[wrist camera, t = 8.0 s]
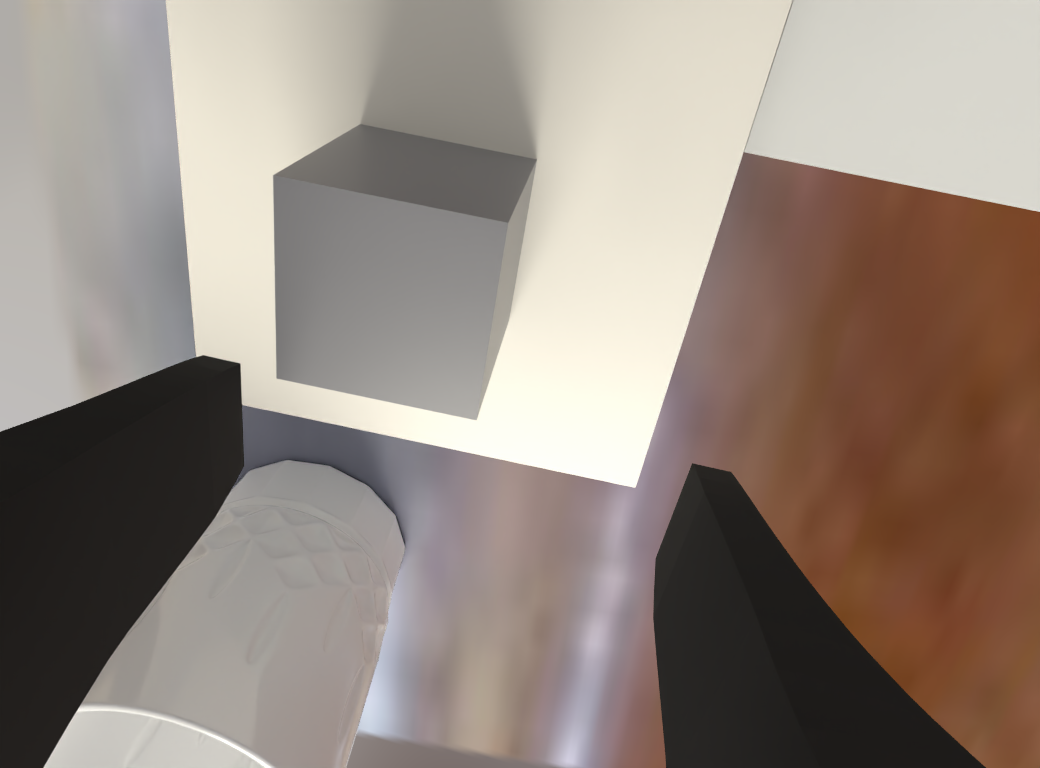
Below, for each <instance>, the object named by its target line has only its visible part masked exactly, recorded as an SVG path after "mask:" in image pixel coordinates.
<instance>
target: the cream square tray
mask: <svg viewBox="0 0 1040 768" xmlns="http://www.w3.org/2000/svg"><path fill="white" fill-rule="evenodd" d="M744 152H746V153H751V154H756V155H761V156H766V157H771V158H776V159H781V160H786V161H791V162H796V163H801V164H806V165H811V166H815V167H820V168H825V169H830V170H835V171H840V172H845V173H850V174H855V175H860V176H865V177H870V178H875V179H880V180H885V181H890V182H895V183H900V184H905V185H910V186H915V187H920V188H925V189H929V190H934V191H939V192H944V193H949V194H954V195H959V196H964V197H969V198H974V199H979V200H984V201H989V202H994V203H999V204H1004V205H1009V206H1014V207H1019V208H1024V209H1029V210H1034V211H1039V212H1040V0H792V3H791V6H790V9H789V13H788V16H787V19H786V22H785V25H784V28H783V31H782V34H781V37H780V40H779V44H778V47H777V50H776V53H775V56H774V59H773V62H772V65H771V68H770V71H769V75H768V78H767V81H766V84H765V87H764V90H763V93H762V96H761V99H760V103H759V106H758V109H757V112H756V115H755V118H754V121H753V124H752V127H751V130H750V134H749V137H748V140H747V143H746V146H745V149H744Z"/></svg>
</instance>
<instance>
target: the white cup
mask: <svg viewBox="0 0 1040 768" xmlns="http://www.w3.org/2000/svg"><path fill="white" fill-rule="evenodd" d="M404 553H405V545H404V542H403V539H402V535H401V532H400V529H399V525H398V522H397V519H396V516H395V514H394V513H393V512H392V511H391V510H390V509H389V508H388V507H387V506H386V505H385V503H384V502H383V501H382V500H381V499H380V498H379V497H378V496H377V495H376V494H375V492H374V491H373V490H372V489H371V488H370V487H369V486H368V485H366V484H364V483H362V482H360V481H358V480H356V479H354V478H352V477H350V476H348V475H346V474H344V473H343V472H341V471H339V470H337V469H335V468H333V467H331V466H328V465H321V464H314V463H306V462H299V461H292V460H284V461H281V462H277V463H274V464H270V465H266V466H263V467H259V468H255V469H252V470H250V471H249V472H248V473H247V474H246V475H245V476H244V477H243V478H242V479H241V480H240V481H239V482H238V483H237V484H236V485H235V486H234V488H233V489H232V490H231V491H230V493H229V495H228V496H227V498H226V500H225V501H224V503H223V505H222V507H221V508H220V510H219V512H218V513H217V515H216V517H215V518H214V520H213V521H212V523H211V524H210V525H209V527H208V528H207V529H206V531H205V532H204V533H203V535H202V536H201V537H200V539H199V540H198V541H197V543H196V544H195V545H194V547H193V548H192V549H191V551H190V552H189V553H188V555H187V556H186V557H185V559H184V560H183V561H182V562H181V564H180V565H179V566H178V568H177V569H176V570H175V572H174V573H173V574H172V575H171V577H170V578H169V579H168V581H167V582H166V583H165V585H164V586H163V587H162V589H161V590H160V591H159V592H158V594H157V595H156V596H155V598H154V599H153V600H152V602H151V603H150V604H149V605H148V607H147V608H146V609H145V611H144V612H143V613H142V615H141V616H140V617H139V618H138V620H137V621H136V622H135V624H134V625H133V626H132V628H131V629H130V630H129V631H128V633H127V634H126V636H125V637H124V639H123V640H122V641H121V643H120V644H119V646H118V647H117V648H116V650H115V651H114V653H113V654H112V656H111V657H110V658H109V660H108V661H107V663H106V665H105V666H104V668H103V670H102V671H101V673H100V674H99V676H98V678H97V679H96V681H95V682H94V684H93V686H92V687H91V689H90V691H89V692H88V694H87V695H86V697H85V699H84V700H83V702H82V703H81V705H80V707H79V708H78V710H77V712H76V713H75V715H74V716H73V718H72V720H71V721H70V723H69V725H68V726H67V728H66V730H65V732H64V733H63V735H62V737H61V738H60V740H59V742H58V744H57V745H56V747H55V749H54V750H53V752H52V754H51V756H50V757H49V759H48V761H47V762H46V764H45V766H44V768H346V767H347V763H348V760H349V757H350V753H351V750H352V746H353V743H354V740H355V737H356V733H357V730H358V726H359V722H360V719H361V715H362V712H363V708H364V705H365V702H366V698H367V695H368V692H369V688H370V685H371V682H372V678H373V675H374V672H375V668H376V665H377V662H378V659H379V654H380V649H381V645H382V640H383V636H384V633H385V630H386V627H387V624H388V609H389V605H390V601H391V596H392V592H393V589H394V586H395V583H396V579H397V576H398V573H399V569H400V566H401V563H402V559H403V556H404Z"/></svg>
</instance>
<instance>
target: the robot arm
mask: <svg viewBox="0 0 1040 768" xmlns="http://www.w3.org/2000/svg"><path fill="white" fill-rule="evenodd" d="M243 467H244V451H243V422H242V393H241V364H240V363H236V362H232V361H227V360H223V359H218V358H214V357H209V356H205V355H202V356H199V357H196V358H192V359H189V360H187V361H184V362H181V363H178V364H176V365H173V366H171V367H168V368H165V369H163V370H160V371H158V372H155V373H153V374H151V375H148V376H146V377H143V378H141V379H138V380H136V381H133V382H131V383H128V384H126V385H123V386H121V387H118V388H116V389H113V390H111V391H108V392H106V393H103V394H101V395H98V396H96V397H93V398H91V399H88V400H86V401H83V402H81V403H78V404H76V405H73V406H71V407H68V408H65V409H62V410H60V411H57V412H54V413H51V414H49V415H46V416H43V417H40V418H37V419H35V420H32V421H29V422H26V423H24V424H21V425H18V426H15V427H12V428H10V429H7V430H4V431H1V432H0V768H44V766H45V764H46V762H47V761H48V759H49V757H50V756H51V754H52V752H53V750H54V749H55V747H56V745H57V744H58V742H59V740H60V738H61V737H62V735H63V733H64V732H65V730H66V728H67V726H68V725H69V723H70V721H71V720H72V718H73V716H74V715H75V713H76V712H77V710H78V708H79V707H80V705H81V703H82V702H83V700H84V699H85V697H86V695H87V694H88V692H89V691H90V689H91V687H92V686H93V684H94V682H95V681H96V679H97V678H98V676H99V674H100V673H101V671H102V670H103V668H104V666H105V665H106V663H107V661H108V660H109V658H110V657H111V656H112V654H113V653H114V651H115V650H116V648H117V647H118V646H119V644H120V643H121V641H122V640H123V639H124V637H125V636H126V634H127V633H128V631H129V630H130V629H131V628H132V626H133V625H134V624H135V622H136V621H137V620H138V618H139V617H140V616H141V615H142V613H143V612H144V611H145V609H146V608H147V607H148V605H149V604H150V603H151V602H152V600H153V599H154V598H155V596H156V595H157V594H158V592H159V591H160V590H161V589H162V587H163V586H164V585H165V583H166V582H167V581H168V579H169V578H170V577H171V575H172V574H173V573H174V572H175V570H176V569H177V568H178V566H179V565H180V564H181V562H182V561H183V560H184V559H185V557H186V556H187V555H188V553H189V552H190V551H191V549H192V548H193V547H194V545H195V544H196V543H197V541H198V540H199V539H200V537H201V536H202V535H203V533H204V532H205V531H206V529H207V528H208V527H209V525H210V524H211V523H212V521H213V520H214V518H215V517H216V515H217V513H218V512H219V510H220V508H221V507H222V505H223V503H224V501H225V500H226V498H227V496H228V495H229V493H230V491H231V489H232V487H233V485H234V484H235V482H236V480H237V478H238V476H239V474H240V472H241V471H242V469H243ZM653 618H654V631H655V643H656V655H657V667H658V678H659V689H660V700H661V711H662V722H663V733H664V744H665V755H666V768H986V767H984V766H983V765H982V764H981V763H980V762H979V761H978V760H977V759H975V758H974V757H973V756H972V755H971V754H970V753H969V752H968V751H967V750H966V749H965V748H964V747H963V746H961V745H960V744H959V743H958V742H957V741H956V740H955V739H954V738H953V737H952V736H951V735H950V734H949V733H947V732H946V731H945V730H944V729H943V728H942V727H941V726H940V725H939V724H938V723H937V722H936V721H934V720H933V719H932V718H931V717H930V716H929V715H928V714H927V713H926V712H925V711H924V710H923V709H922V708H921V707H920V706H919V705H918V704H917V703H916V702H915V701H914V700H913V699H912V698H911V697H910V696H909V695H908V694H907V693H906V692H905V691H904V690H903V689H902V688H901V687H900V686H899V685H898V684H897V683H896V681H895V680H894V679H893V678H892V677H891V676H890V675H889V674H888V673H887V672H886V671H885V670H884V669H883V668H882V667H881V666H880V665H879V664H878V662H877V661H876V660H875V659H874V658H873V657H872V656H871V655H870V654H869V653H868V652H867V651H866V650H865V648H864V647H863V646H862V645H861V644H860V643H859V642H858V641H857V639H856V638H855V637H854V636H853V635H852V634H851V633H850V631H849V630H848V629H847V628H846V627H845V625H844V624H843V623H842V622H841V621H840V619H839V618H838V617H837V616H836V614H835V613H834V612H833V611H832V610H831V608H830V607H829V606H828V605H827V603H826V602H825V601H824V600H823V599H822V597H821V596H820V595H819V594H818V592H817V591H816V590H815V588H814V587H813V586H812V585H811V583H810V582H809V581H808V579H807V578H806V577H805V576H804V574H803V573H802V572H801V570H800V569H799V568H798V566H797V565H796V564H795V562H794V561H793V559H792V558H791V557H790V555H789V554H788V553H787V551H786V550H785V548H784V547H783V546H782V544H781V543H780V541H779V540H778V539H777V537H776V536H775V534H774V533H773V531H772V530H771V529H770V527H769V526H768V524H767V523H766V521H765V520H764V518H763V517H762V516H761V514H760V513H759V511H758V510H757V508H756V507H755V505H754V504H753V502H752V501H751V499H750V498H749V497H748V495H747V494H746V492H745V491H744V489H743V488H742V486H741V485H740V484H739V482H738V481H737V479H736V478H735V477H734V475H733V474H732V473H731V472H728V471H724V470H719V469H715V468H710V467H706V466H701V465H697V464H692V466H691V468H690V471H689V473H688V476H687V479H686V481H685V484H684V486H683V489H682V492H681V494H680V497H679V499H678V502H677V505H676V507H675V510H674V512H673V515H672V518H671V520H670V523H669V525H668V528H667V531H666V533H665V536H664V538H663V541H662V544H661V546H660V549H659V551H658V554H657V557H656V565H655V585H654V615H653Z"/></svg>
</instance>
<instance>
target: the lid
mask: <svg viewBox="0 0 1040 768" xmlns="http://www.w3.org/2000/svg"><path fill="white" fill-rule="evenodd" d="M791 3H792V0H166V8H167V19H168V31H169V43H170V55H171V67H172V78H173V90H174V102H175V114H176V126H177V137H178V149H179V161H180V173H181V185H182V196H183V208H184V220H185V232H186V244H187V255H188V267H189V279H190V291H191V303H192V314H193V326H194V338H195V350H196V357H199V356H202V355H205V356H209V357H214V358H218V359H223V360H227V361H232V362H236V363H240V364H241V393H242V405H245V406H250V407H254V408H259V409H264V410H269V411H273V412H278V413H283V414H288V415H292V416H297V417H302V418H307V419H311V420H316V421H321V422H326V423H330V424H335V425H340V426H345V427H349V428H354V429H359V430H364V431H368V432H373V433H378V434H383V435H387V436H392V437H397V438H402V439H406V440H411V441H416V442H421V443H425V444H430V445H435V446H440V447H444V448H449V449H454V450H459V451H463V452H468V453H473V454H478V455H482V456H487V457H492V458H497V459H501V460H506V461H511V462H516V463H520V464H525V465H530V466H535V467H539V468H544V469H549V470H554V471H558V472H563V473H568V474H573V475H577V476H582V477H587V478H592V479H596V480H601V481H606V482H611V483H615V484H620V485H625V486H630V487H634V488H635V487H636V484H637V481H638V478H639V475H640V472H641V469H642V466H643V462H644V459H645V456H646V453H647V450H648V447H649V444H650V441H651V438H652V435H653V431H654V428H655V425H656V422H657V419H658V416H659V413H660V410H661V407H662V404H663V400H664V397H665V394H666V391H667V388H668V385H669V382H670V379H671V376H672V372H673V369H674V366H675V363H676V360H677V357H678V354H679V351H680V348H681V345H682V341H683V338H684V335H685V332H686V329H687V326H688V323H689V320H690V317H691V314H692V310H693V307H694V304H695V301H696V298H697V295H698V292H699V289H700V286H701V282H702V279H703V276H704V273H705V270H706V267H707V264H708V261H709V258H710V255H711V251H712V248H713V245H714V242H715V239H716V236H717V233H718V230H719V227H720V224H721V220H722V217H723V214H724V211H725V208H726V205H727V202H728V199H729V196H730V192H731V189H732V186H733V183H734V180H735V177H736V174H737V171H738V168H739V165H740V161H741V158H742V155H743V152H744V149H745V146H746V143H747V140H748V137H749V134H750V130H751V127H752V124H753V121H754V118H755V115H756V112H757V109H758V106H759V103H760V99H761V96H762V93H763V90H764V87H765V84H766V81H767V78H768V75H769V71H770V68H771V65H772V62H773V59H774V56H775V53H776V50H777V47H778V44H779V40H780V37H781V34H782V31H783V28H784V25H785V22H786V19H787V16H788V13H789V9H790V6H791Z"/></svg>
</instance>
